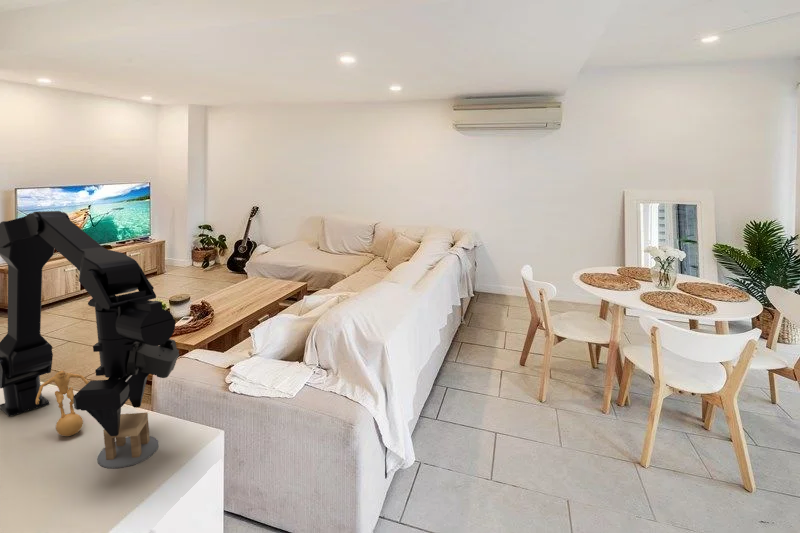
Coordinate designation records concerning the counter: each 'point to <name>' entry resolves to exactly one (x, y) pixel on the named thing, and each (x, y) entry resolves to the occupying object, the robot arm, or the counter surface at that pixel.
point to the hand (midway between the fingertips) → (126, 420)
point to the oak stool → (128, 434)
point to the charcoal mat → (128, 454)
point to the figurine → (67, 422)
